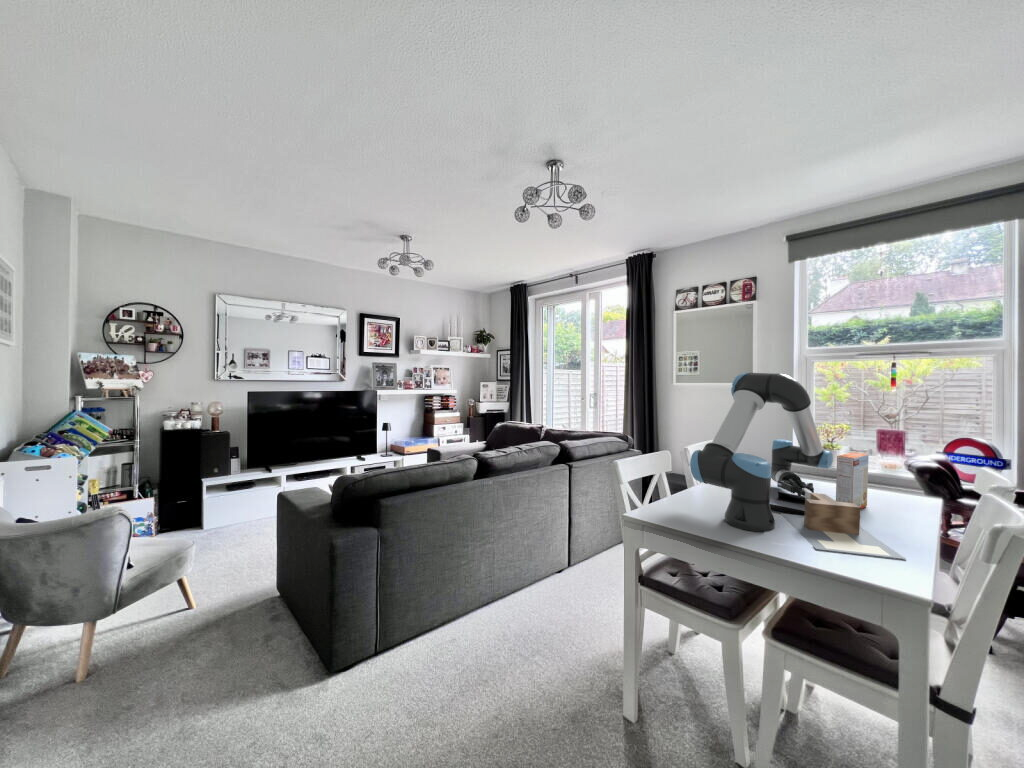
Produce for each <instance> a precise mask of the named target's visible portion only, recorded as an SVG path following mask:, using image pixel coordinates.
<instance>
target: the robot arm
mask: <svg viewBox="0 0 1024 768" xmlns="http://www.w3.org/2000/svg"><path fill="white" fill-rule="evenodd" d="M731 385H732V386H731V388H730V389H731V390H730V391H731V396H732V398H733V403H732V404H731V407H730V408H729V411H728V412H727V414H726V416H725V418H724V420H723V421H722V424H721V425H720V427H719V429H718V431H717V432H716V434H715V436H714V438H713V440H712V441H711V442H708V443H706V444H705V446H704V447H703V449H702V450H701V449H698V450H694V452H692V454H691V457H690V460H689V466H690V467H689V469H690V473H691V475H692V478H694V480H696V481H697V482H700V483H703V484H705V485H712V486H714V487H715V486H716V487H720V488H724V489H726V490H727V489H728V490H731V491H730V492H731V493H730V494H731V495H730V501H729V503H728V506H727V508H726V510H725V513H724V522H725V523H727V524H728V525H730V526H731V527H735V528H737V529H741V530H744V531H751V532H757V533H758V532H759V533H760V532H761V533H762V532H763V533H764V532H771V531H774V530H775V528H776V522H775V521H776V520H775V517H774V514H773V512H772V509H771V504H770V501H771V499H770V498H771V483H772V482H771V481H774V482H775V483H776V486H777V487H778V488H781V489H783V490H785V491H787V492H790V493H791V494H797V497H804V498H805V499H810V496H811V493H815V488H814V483H813V482H810V483H806V482H804V481H803V480H802V478H801V477H800V476H799V475H797V474H796V473H795V472H793V471H792V465H793V464H796V465H801V466H805V467H812V468H817V469H830V468H831V466H832V465H833V461H834V455H833V453H832V452H831V451H829V450H826V449H824V448H823V446H822V443H821V440H820V436H819V433H818V431H817V427H816V424H815V421H814V417H813V414H812V411H811V408H810V406H811V403H812V401H811V398H810V395H809V393H808V391H807V390H806V389H805V387H804V386H803V385H802V384H801V383H800V382H799V381H798V380H796V379H795V378H793V377H792V376H790V375H788V374H784V373H778V372H777V373H769V372H768V373H767V372H753V371H752V372H751V371H750V372H743V373H740V374H737V376H736V377H735V378H734V379H733V382H732V384H731ZM766 403H770V404H771V403H773V404H775V403H776V404H779V405H781V408H782V409H783V410H784V411H785V412H787V414H788V415H787V416H788V418H789V421H790V424H791V426H792V429H793V432H794V434H795V436H796V440H797V442H798V445H799V446H798V445H794V444H793V441H792V440H788V439H779V438H777V439H774V440H773V441H772V446H771V463H770V462H769V461H768V460H767V459H765V458H763V457H761V456H758V455H754V454H749V453H744V452H737V451H738V449H739V446H740V444H741V442H742V440H743V438H744V436H745V434H746V432H747V430H748V429H749V427H750V425H751V423H752V421H753V419H754V417H755V415H756V413H757V411H760V410H762V409H763V408H764V406H765V405H766Z"/></svg>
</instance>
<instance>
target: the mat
mask: <svg viewBox="0 0 1024 768" xmlns="http://www.w3.org/2000/svg"><path fill="white" fill-rule="evenodd" d="M780 515H781V516H782V517H783V518H784V519H786V521H787V522H788V523H789V524H790V525H791V526H792V527H793V528H794V529H796V530H797V532H798V533H799V534H800V535H801V536H802V537H803V538H804V539H806V541H807V542H808V543H809V544H810V545H811V546H812V548H813V549H814V550H815V551H820V552H829V553H836V552H838V554H845V553H849V554H848V555H854V554H858V555H857V556H863V555H866V556H865V557H872V556H875V557H874V558H880V557H886V558H885V559H889V558H895V559H894V560H898V559H906V558H905V556H903V555H901V554H900V553H898V552H897V551H896V550H894V549H893V548H891V547H890V546H889V545H887V544H885V543H884V542H882V541H881V540H880V539H879V538H877V537H876V536H874V535H873V534H872V533H870V532H868V531H867V530H865V529H864V528H863V527H861V526H860V529H859V535H855V534H845V533H835V532H826V531H816V530H809V529H808V528H807V527H806V526H805V525H804V515H800V514H791V513H780Z"/></svg>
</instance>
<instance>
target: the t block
mask: <svg viewBox="0 0 1024 768" xmlns="http://www.w3.org/2000/svg"><path fill="white" fill-rule="evenodd" d="M803 516H804V525H805V526H806V527H807V528H808V529H809V530H816V531H826V532H835V533H845V534H855V535H859V529H860V527H861V507H859V506H857V505H856V504H854V503H846V502H837V501H836V499H834V498H832V497H831V496H830V495H828V494H826V493H818V492H816V493H815V492H814V493H811V496H810V499H807V498H805V499H804V515H803Z"/></svg>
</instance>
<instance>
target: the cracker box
mask: <svg viewBox="0 0 1024 768" xmlns="http://www.w3.org/2000/svg"><path fill="white" fill-rule="evenodd" d="M835 477H836V481H835V485H836V486H835V501H837V502H846V503H854V504H856V505H857V506H859V507H861V509H864V508H866V507H868V488H869V487H868V483H869V482H868V481H869V454H868V453H861V452H854V451H851V452H848V453H844V454H843V453H842V454H839V455H837V456H836V476H835ZM861 509H860V510H861Z"/></svg>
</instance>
